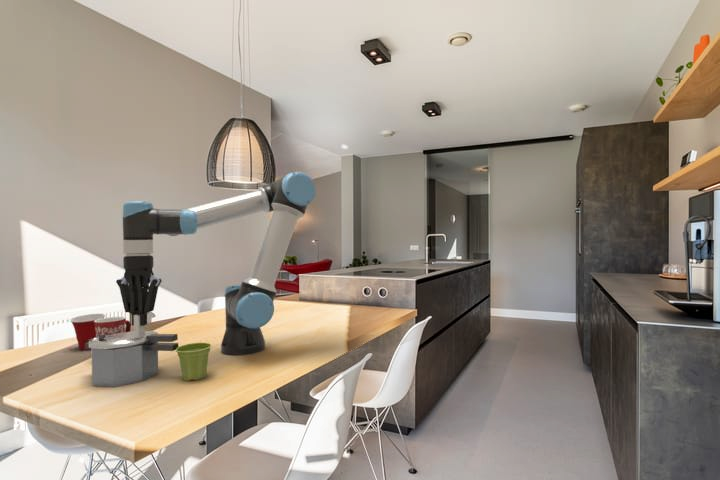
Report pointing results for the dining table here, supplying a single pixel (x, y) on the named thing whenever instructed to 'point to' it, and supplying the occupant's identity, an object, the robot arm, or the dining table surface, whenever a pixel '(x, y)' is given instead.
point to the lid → (128, 339)
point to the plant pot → (194, 360)
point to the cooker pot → (126, 363)
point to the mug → (111, 325)
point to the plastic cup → (85, 328)
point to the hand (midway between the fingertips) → (139, 336)
